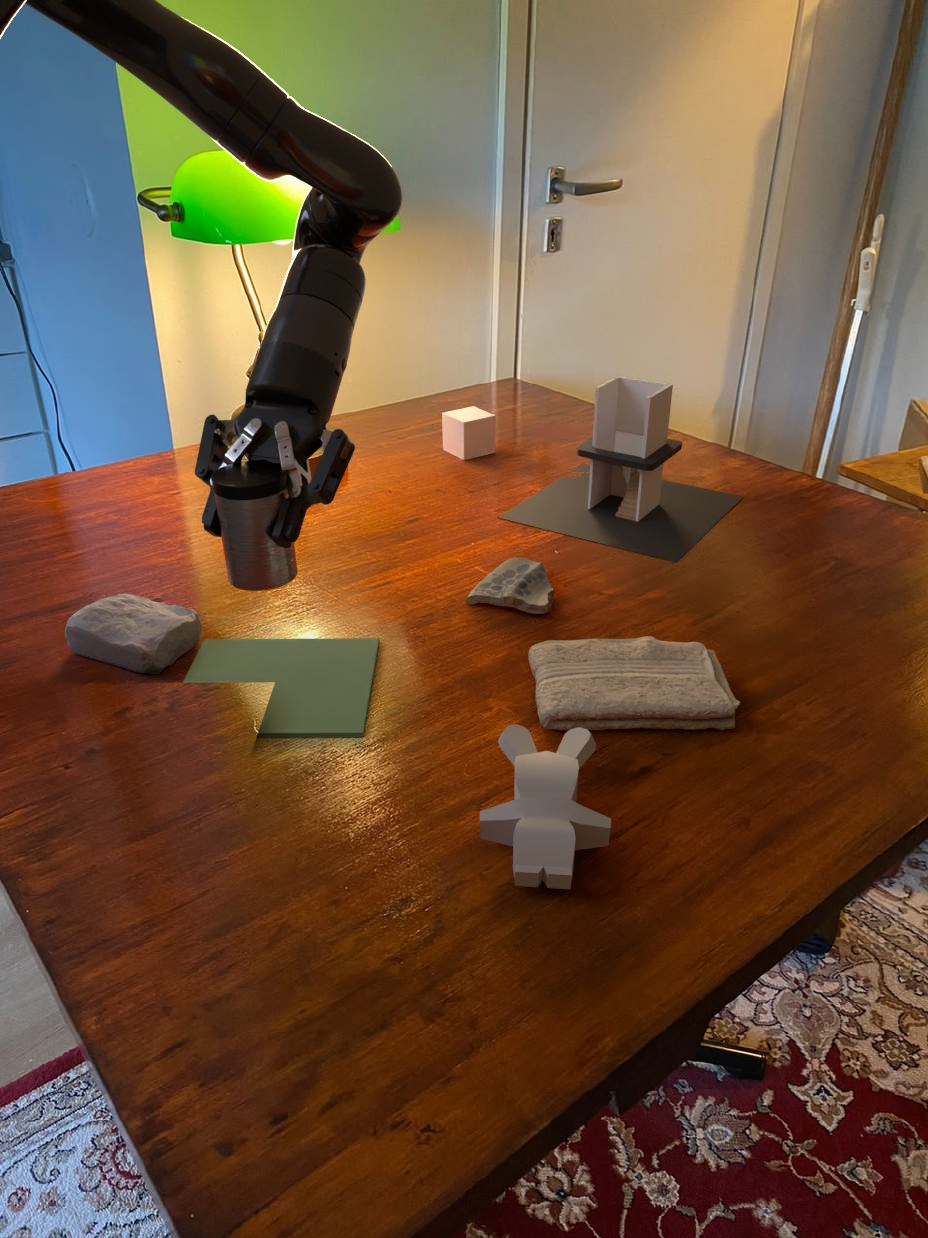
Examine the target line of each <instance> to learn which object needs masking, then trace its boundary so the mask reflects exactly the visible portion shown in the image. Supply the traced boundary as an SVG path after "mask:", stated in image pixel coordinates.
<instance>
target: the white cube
mask: <svg viewBox="0 0 928 1238" xmlns="http://www.w3.org/2000/svg"><path fill="white" fill-rule="evenodd" d="M496 418H497V417H496V415H495V414H494V413H492V412H488V411H487V410H484V409H481V408H479V407H478V406H474V405H473V406H472V405H471V406H468V407H463V408H458V409H453V410H449V411H444V412H441V428H442V429H441V431H442V432H441V433H442V435H441V436H442V451H445V452H446V453H448V454H450V455H451V456H452V455H453V456H454V457H457V458H458V459H461V460H462V461H467V460H471V459H475V458H478V457H479V458H480V457H483V456H487V455H492V454H495V453H496V434H497V433H496V428H497V427H496V426H497V425H496V423H497V422H496V421H497V420H496Z"/></svg>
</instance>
